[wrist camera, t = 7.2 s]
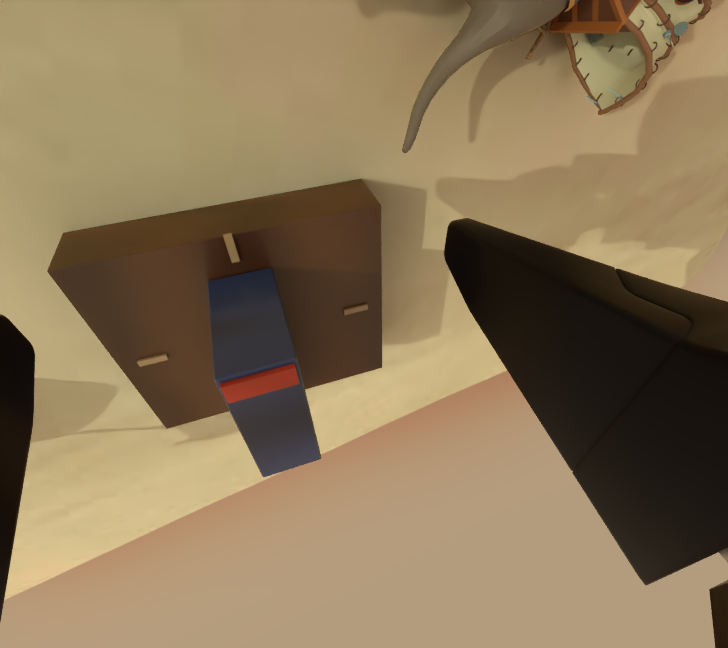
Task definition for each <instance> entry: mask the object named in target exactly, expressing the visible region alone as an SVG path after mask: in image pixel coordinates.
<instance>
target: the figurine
mask: <svg viewBox="0 0 728 648" xmlns="http://www.w3.org/2000/svg"><path fill="white" fill-rule="evenodd" d="M467 2H468V3H469V5H470V6H471V11H470V14H469V17H468V18H467V20H466V22H465V24H464V25H463V27H462V29H461V30H460V32H459V33H458V35H457V36H456V37H455V38H454V40H453V41H452V42H451V43H450V45H449V46H448V47H447V48H446V50H445V51H444V52H443V53H442V55H441V56H440V58H439V59H438V60H437V62H436V63H435V65H434V67H433V68H432V70H431V71H430V73H429V75H428V76H427V78H426V80H425V82H424V84H423V86H422V88H421V90H420V91H419V94H418V96H417V99H416V101H415V104H414V106H413V109H412V112H411V116H410V121H409V125H408V129H407V133H406V137H405V140H404V144H403V148H402V151H403V152H404V153H407V152H408V151H409V150H410V149H411V147H412V145H413V143H414V141H415V138H416V135H417V132H418V130H419V127H420V124H421V121H422V118H423V115H424V113H425V111H426V109H427V107H428V105H429V103H430V101H431V100H432V98H433V97H434V95H435V94H436V93H437V91H438V90H439V88H440V87H441V86H442V85H443V84H444V83H445V82H446V80H447V79H448V78H449V77H450V76H451V75H452V74H453V73H454V72H456V71H457V70H458V69H459V68H460V67H461V66H462V65H464V64H465V63H467V62H468V61H470V60H471V59H472V58H474V57H476V56H477V55H479V54H481V53H482V52H484V51H486V50H488V49H490V48H493V47H495V46H497V45H500V44H502V43H505V42H508V41H512V40H513V39H515V38H517V37H519V36H521V35H524V34H526V33H528V32H530V31H532V30H535V29H538V30H539V32H540V35H539V37H538V38H537V40H536V42H535V43H534V45H533V47H532V48H531V50H530V52H529V53H528V55H527V57H526V59H529V58H530V57H531V55H532V53H533V52H534V50H535V48H536V47H537V45H538V43H539V42H540V40H541V38H542V37H543V35H544V33H545V32H546V30H547V28H548V27H549V25H550V24H551V27H550V28H549V30H548V31H549V33H564V35H565V38H566V42H567V45H568V49H569V53H570V57H571V62H572V67H573V70H574V72H575V73H576V75H577V77H578V79H579V80H580V82H581V84H582V86H583V88H584V89H585V90H586V92H587V93H588V95H589V96H590V97H589V96H586V97H587V98H589V99H590V100H591V101H593V102H594V104H595V105H596V106H597V107H598V108H599V109H600V110H599V111H598V114H599V115H601V114H605V113H608V112H609V111H611V110H614V109H616V108H618V107H619V106H622V105H623V104H624V103H625V102H627V101H628V100H630V99H631V98H633V97H634V96H636V95H637V94H638V93H639V92H640V91H641V90H643V89H644V88H645V87H646V85H647V81H648V79H649V78H650V77H651V75H652V74H653V73H655V72H656V71H657V69H658V64H657V63H655V61H656V62H657V61H659V60H661V59H665V58H667V57H668V56H669V54H670V52H671V50H672V49H673V48H674V46H675V45H676V44H677V43H678V41H679V40H680V38H681V35H682V34H683V33H685V32H686V30H687V29H688V24H687V23H689V24H693V23H695V22H696V21H698V20H700V19H703V18H704V17H705V15H706V14H707V13H708V12H709V11H710V9H711V7H710V6H711V4H712V1H711V0H467ZM694 21H695V22H694ZM691 22H693V23H691ZM544 24H546V25H545V27H544V28H542V27H541V26H542V25H544ZM679 36H680V38H679ZM677 38H678V40H677ZM664 57H665V58H664ZM658 59H659V60H658ZM654 64H655V65H656V66H657V69H656V71H654V72H653V68H654ZM644 85H645V86H644ZM643 86H644V88H643Z"/></svg>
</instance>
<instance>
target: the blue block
mask: <svg viewBox="0 0 728 648" xmlns="http://www.w3.org/2000/svg"><path fill="white" fill-rule="evenodd" d="M208 298H209V312H210V327H211V342H212V357H213V371H214V381H215V383H216V385H217V387H218V389H219V391H220V393H221V395H222V397H223V399H224V401H225V403H226V405H227V407H228V409H229V411H230V413H231V415H232V417H233V419H234V421H235V423H236V425H237V427H238V429H239V431H240V433H241V435H242V437H243V438H244V440H245V442H246V444H247V446H248V448H249V450H250V452H251V454H252V456H253V458H254V460H255V462H256V464H257V466H258V468H259V470H260V472H261V474H262V476H263V477H266V476H269V475H272V474H276V473H279V472H282V471H285V470H288V469H291V468H294V467H297V466H300V465H304V464H306V463H310V462H313V461H316V460H319V459H321V454H320V450H319V446H318V442H317V438H316V434H315V430H314V426H313V421H312V417H311V413H310V409H309V405H308V401H307V397H306V392H305V388H304V384H303V380H302V376H301V372H300V368H299V364H298V359H297V356H296V352H295V348H294V345H293V341H292V337H291V333H290V330H289V326H288V322H287V319H286V315H285V311H284V308H283V304H282V300H281V297H280V293H279V289H278V286H277V282H276V278H275V275H274V271H273V268H266V269H262V270H257V271H252V272H248V273H243V274H239V275H234V276H229V277H225V278H220V279H216V280H211V281H208Z"/></svg>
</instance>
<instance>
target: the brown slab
mask: <svg viewBox="0 0 728 648" xmlns="http://www.w3.org/2000/svg"><path fill="white" fill-rule="evenodd" d="M266 268H273V271H274V275H275V278H276V282H277V286H278V289H279V293H280V297H281V300H282V304H283V308H284V311H285V315H286V319H287V322H288V326H289V330H290V333H291V337H292V341H293V345H294V348H295V352H296V356H297V359H298V364H299V368H300V372H301V376H302V380H303V384H304V388H305V389H308V388H312V387H315V386H319V385H322V384H326V383H329V382H333V381H336V380H340V379H343V378H347V377H350V376H354V375H357V374H361V373H364V372H368V371H371V370H375V369H378V368H382V280H381V205H380V203H379V202H378V201H377V199H376V198H375V197H374V195H373V194H372V193H371V191H370V190H369V189H368V187H367V186H366V185H365V183H364V182H363V181H362V179H358V180H353V181H347V182H342V183H336V184H331V185H325V186H320V187H314V188H309V189H303V190H298V191H292V192H287V193H281V194H276V195H270V196H265V197H259V198H254V199H248V200H243V201H237V202H232V203H226V204H221V205H215V206H210V207H204V208H199V209H193V210H188V211H182V212H177V213H171V214H166V215H160V216H155V217H149V218H144V219H138V220H133V221H127V222H122V223H116V224H111V225H105V226H100V227H94V228H89V229H83V230H78V231H72V232H67V233H63V235H62V237H61V239H60V242H59V244H58V247H57V249H56V251H55V254H54V256H53V259H52V261H51V263H50V266H49V268H48V273H49V274H50V276H51V277H52V278H53V279H54V281H55V282H56V283H57V285H58V286H59V287H60V289H61V290H62V291H63V293H64V294H65V295H66V297H67V298H68V299H69V301H70V302H71V303H72V305H73V306H74V307H75V308H76V310H77V311H78V312H79V314H80V315H81V316H82V318H83V319H84V320H85V322H86V323H87V324H88V326H89V327H90V328H91V330H92V331H93V332H94V334H95V335H96V336H97V337H98V339H99V340H100V341H101V343H102V344H103V345H104V347H105V348H106V349H107V351H108V352H109V353H110V355H111V356H112V357H113V359H114V360H115V361H116V363H117V364H118V365H119V366H120V368H121V369H122V370H123V372H124V373H125V374H126V376H127V377H128V378H129V380H130V381H131V382H132V384H133V385H134V386H135V388H136V389H137V390H138V392H139V393H140V394H141V395H142V397H143V398H144V399H145V401H146V402H147V403H148V405H149V406H150V407H151V409H152V410H153V411H154V413H155V414H156V415H157V417H158V418H159V419H160V421H161V422H162V423H163V424H164V426H165V427H166V428H171V427H175V426H178V425H182V424H185V423H189V422H192V421H196V420H199V419H203V418H206V417H210V416H213V415H217V414H220V413H224V412H227V411H229V409H228V407H227V405H226V403H225V401H224V399H223V397H222V395H221V393H220V391H219V389H218V387H217V385H216V383H215V381H214V371H213V357H212V342H211V327H210V312H209V298H208V281H211V280H216V279H220V278H225V277H229V276H234V275H239V274H243V273H248V272H252V271H257V270H262V269H266Z"/></svg>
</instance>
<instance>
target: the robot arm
mask: <svg viewBox="0 0 728 648" xmlns="http://www.w3.org/2000/svg"><path fill="white" fill-rule="evenodd" d="M444 256H445V261H446V263H447V265H448V267H449V269H450V271H451V273H452V275H453V278H454V280H455V282H456V284H457V286H458V288H459V290H460V292H461V294H462V296H463V298H464V300H465V303H466V304H467V306H468V308H469V310H470V312H471V313H472V315H473V317H474V318H475V320H476V322H477V323H478V325H479V326H480V328H481V329H482V331H483V333H484V334H485V336H486V337H487V339H488V340H489V342H490V344H491V345H492V347H493V348H494V350H495V351H496V353H497V355H498V356H499V358H500V359H501V361H502V362H503V364H504V366H505V367H506V369H507V370H508V372H509V373H510V375H511V376H512V378H513V380H514V381H515V383H516V384H517V386H518V388H519V389H520V391H521V392H522V393H523V395H524V397H525V399H526V400H527V402H528V403H529V405H530V406H531V408H532V409H533V411H534V413H535V414H536V416H537V417H538V419H539V421H540V422H541V424H542V425H543V427H544V428H545V430H546V431H547V433H548V435H549V436H550V438H551V439H552V441H553V443H554V444H555V446H556V447H557V449H558V450H559V452H560V454H561V455H562V457H563V458H564V460H565V461H566V463H567V464H568V466H569V468H570V469H571V470H572V471H573V474H574V476H575V477H576V479H577V481H578V482H579V484H580V485H581V487H582V488H583V490H584V492H585V493H586V495H587V496H588V498H589V499H590V501H591V503H592V504H593V506H594V507H595V509H596V510H597V512H598V514H599V515H600V517H601V518H602V520H603V521H604V523H605V525H606V526H607V528H608V529H609V531H610V532H611V534H612V536H613V537H614V538H615V540H616V542H617V543H618V545H619V547H620V548H621V550H622V551H623V553H624V554H625V556H626V557H627V559H628V561H629V562H630V564H631V565H632V567H633V568H634V570H635V572H636V573H637V574H638V576H639V577H640V579H641V580H642V581H643V583H644V584H645V585H648V584H650V583H653V582H655V581H657V580H659V579H661V578H663V577H666V576H667V575H670V574H672V573H674V572H676V571H678V570H681V569H683V568H685V567H687V566H689V565H691V564H693V563H695V562H698V561H700V560H702V559H704V558H707V557H709V556H711V555H713V554H715V553H717V552H719V553H720V554H721V556H722V557H723V558H724V559H725V560H726V561H727V562H728V302H726V301H723V300H719V299H716V298H712V297H708V296H705V295H701V294H698V293H694V292H691V291H687V290H684V289H681V288H677V287H674V286H670V285H667V284H664V283H660V282H657V281H654V280H651V279H648V278H645V277H642V276H639V275H635V274H632V273H630V272H627V271H624V270H621V269H616V270H615V268H614V267H611V266H608V265H606V264H603V263H600V262H597V261H594V260H591V259H588V258H585V257H582V256H579V255H576V254H573V253H570V252H567V251H564V250H561V249H558V248H555V247H552V246H549V245H546V244H543V243H540V242H537V241H534V240H531V239H528V238H525V237H522V236H519V235H516V234H513V233H510V232H507V231H504V230H501V229H499V228H496V227H493V226H490V225H487V224H484V223H481V222H478V221H475V220H472V219H469V218H464V219H459V220H455V221H452V222H451V223H450V224H449V226H448V230H447V237H446V243H445V250H444ZM34 371H35V353H34V349H33V347H32V345H31V343H30V342H29V341H28V340H27V339H26V338H25V336H24V335H23V334H22V333H21V332H20V331H19V330H18V329H17V328H16V327H15V326H14V325H13V324H12V322H11V321H10V320H9V319H8V318H6V317H5V316H3V315H1V314H0V621H1V615H2V608H3V603H4V597H5V591H6V585H7V579H8V573H9V567H10V561H11V555H12V549H13V543H14V537H15V531H16V525H17V519H18V513H19V507H20V501H21V494H22V488H23V482H24V476H25V470H26V464H27V458H28V452H29V446H30V440H31V434H32V426H33V413H34ZM710 600H711V609H712V619H713V628H714V638H715V648H728V580H727V581H725V582H723V583H721V584H719V585H717V586H715V587H713V588H711V589H710Z"/></svg>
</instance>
